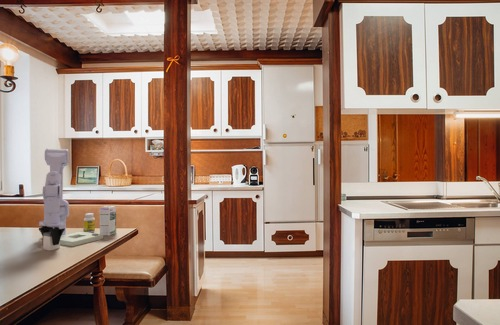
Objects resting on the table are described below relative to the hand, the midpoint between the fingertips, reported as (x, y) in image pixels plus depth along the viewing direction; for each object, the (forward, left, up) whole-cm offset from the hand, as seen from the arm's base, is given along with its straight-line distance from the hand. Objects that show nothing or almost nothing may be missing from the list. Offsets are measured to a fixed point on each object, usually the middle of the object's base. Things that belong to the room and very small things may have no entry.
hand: (51, 243), depth 136 cm
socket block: (-3, +14, -2) cm, 14 cm away
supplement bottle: (-14, +29, -2) cm, 32 cm away
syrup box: (-1, +30, -2) cm, 30 cm away
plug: (0, 0, -2) cm, 2 cm away
